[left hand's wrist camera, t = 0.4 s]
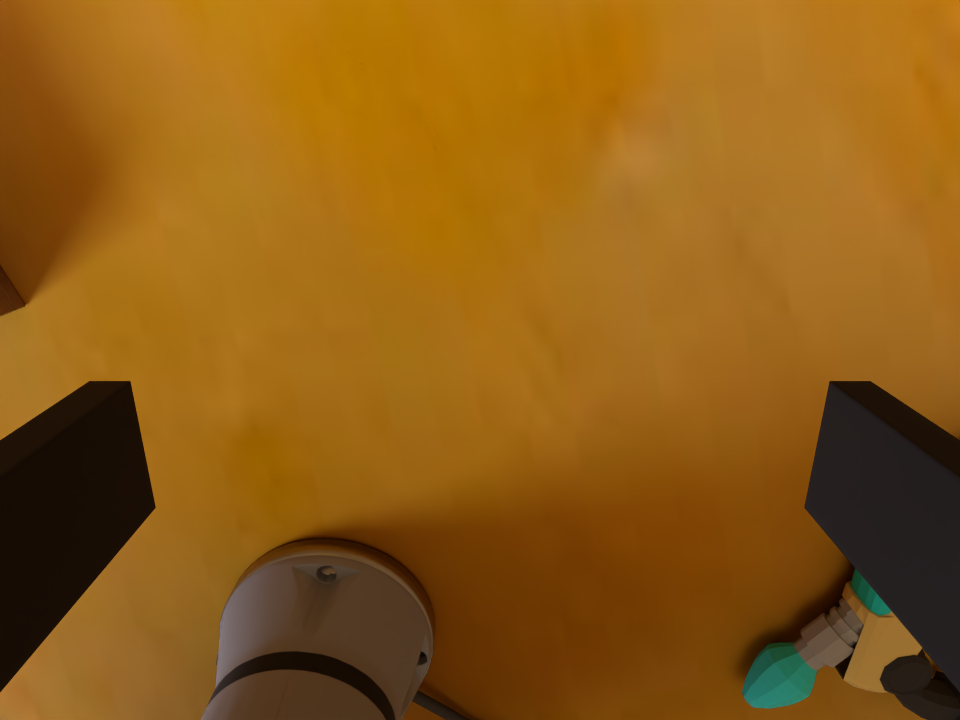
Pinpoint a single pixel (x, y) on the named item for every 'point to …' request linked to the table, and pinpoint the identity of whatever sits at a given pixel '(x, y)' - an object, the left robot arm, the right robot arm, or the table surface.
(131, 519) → the left robot arm
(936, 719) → the toy gun
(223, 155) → the table surface
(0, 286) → the cabinet
